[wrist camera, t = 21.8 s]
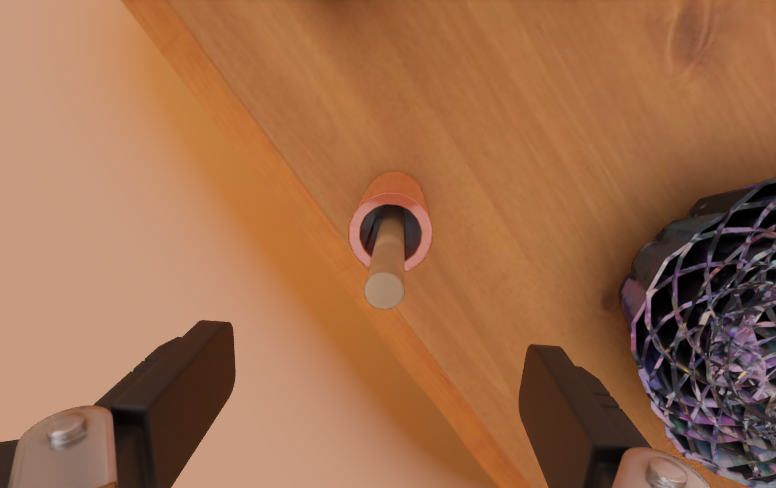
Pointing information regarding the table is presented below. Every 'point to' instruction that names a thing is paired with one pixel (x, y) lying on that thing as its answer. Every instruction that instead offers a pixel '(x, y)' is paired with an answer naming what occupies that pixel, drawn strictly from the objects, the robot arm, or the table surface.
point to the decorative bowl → (712, 331)
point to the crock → (369, 213)
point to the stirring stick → (387, 262)
